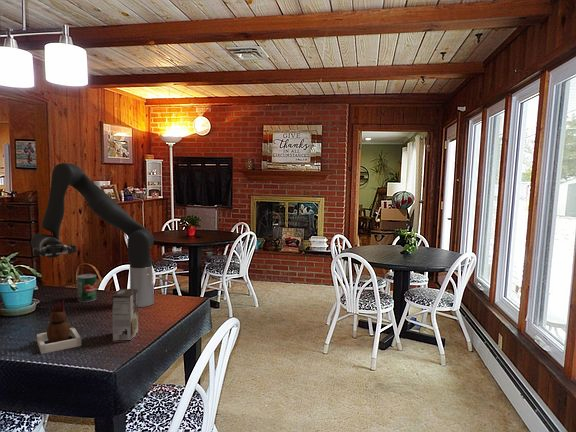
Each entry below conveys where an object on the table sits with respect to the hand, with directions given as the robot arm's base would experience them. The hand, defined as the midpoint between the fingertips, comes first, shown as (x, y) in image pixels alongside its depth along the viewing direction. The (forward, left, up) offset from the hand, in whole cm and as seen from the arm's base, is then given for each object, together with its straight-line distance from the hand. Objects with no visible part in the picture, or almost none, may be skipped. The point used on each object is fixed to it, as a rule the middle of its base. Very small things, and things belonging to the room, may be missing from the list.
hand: (57, 252), depth 150 cm
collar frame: (+3, +19, -28) cm, 34 cm away
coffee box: (-17, +25, -28) cm, 41 cm away
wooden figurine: (+3, +19, -28) cm, 34 cm away
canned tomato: (-15, -30, -28) cm, 44 cm away
